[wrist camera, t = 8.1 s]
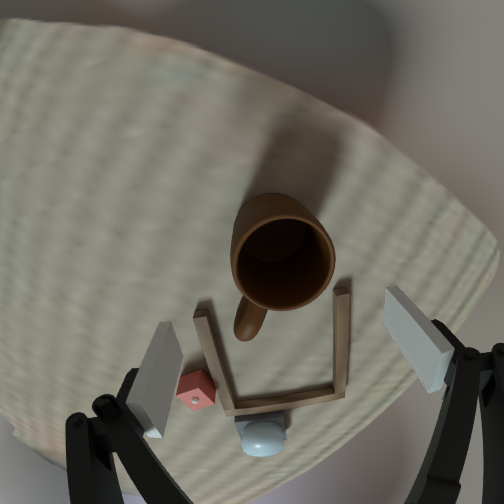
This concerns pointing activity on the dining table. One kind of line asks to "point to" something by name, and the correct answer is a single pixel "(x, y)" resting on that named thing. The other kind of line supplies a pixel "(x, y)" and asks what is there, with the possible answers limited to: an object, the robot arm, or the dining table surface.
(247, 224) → the mug
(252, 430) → the dome
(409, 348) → the robot arm
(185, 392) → the die
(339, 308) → the bay
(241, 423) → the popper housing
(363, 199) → the dining table surface
